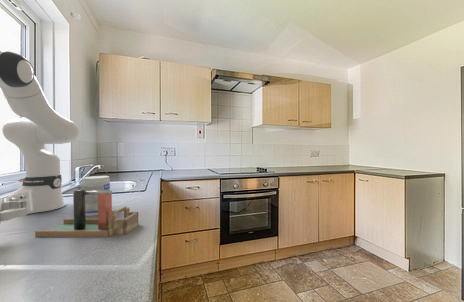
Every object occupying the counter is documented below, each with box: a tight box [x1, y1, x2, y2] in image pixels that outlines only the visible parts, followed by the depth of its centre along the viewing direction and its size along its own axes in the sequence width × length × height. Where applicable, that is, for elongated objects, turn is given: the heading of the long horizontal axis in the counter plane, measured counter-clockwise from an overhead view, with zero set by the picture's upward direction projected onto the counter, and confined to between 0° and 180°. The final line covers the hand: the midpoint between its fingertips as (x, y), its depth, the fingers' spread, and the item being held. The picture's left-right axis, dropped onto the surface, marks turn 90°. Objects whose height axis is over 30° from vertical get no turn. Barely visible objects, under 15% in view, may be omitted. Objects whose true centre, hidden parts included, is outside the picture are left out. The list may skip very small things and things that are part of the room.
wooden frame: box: [108, 205, 139, 237], centre depth 66 cm, size 4×11×7 cm, turn 179°
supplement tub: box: [80, 175, 111, 217], centre depth 84 cm, size 10×10×15 cm
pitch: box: [34, 217, 124, 238], centre depth 67 cm, size 21×11×2 cm, turn 90°
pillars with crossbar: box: [72, 188, 113, 230], centre depth 66 cm, size 12×3×12 cm, turn 90°
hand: (26, 207), depth 58 cm, fingers open, 8 cm apart
